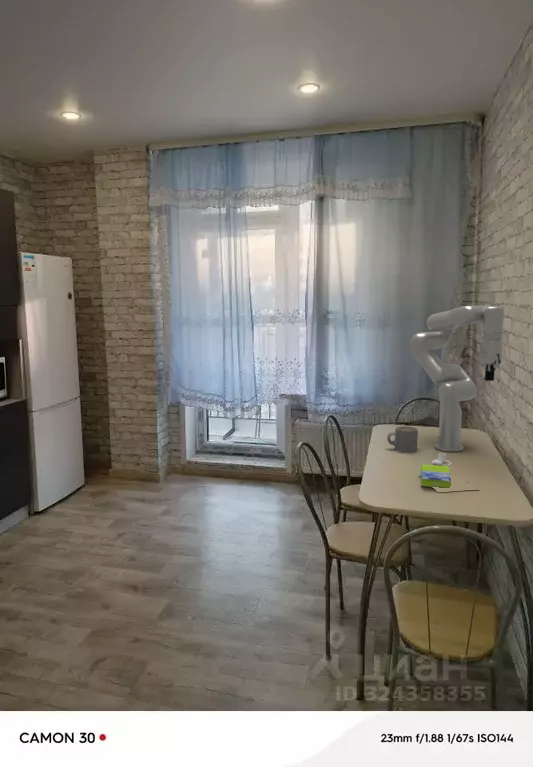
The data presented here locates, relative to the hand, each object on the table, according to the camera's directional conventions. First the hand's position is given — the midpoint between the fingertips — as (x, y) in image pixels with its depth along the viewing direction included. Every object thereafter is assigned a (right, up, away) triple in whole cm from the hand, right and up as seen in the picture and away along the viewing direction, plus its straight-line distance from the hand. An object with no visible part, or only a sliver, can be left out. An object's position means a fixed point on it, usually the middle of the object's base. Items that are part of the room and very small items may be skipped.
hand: (489, 380), depth 218 cm
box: (-27, -35, -12) cm, 46 cm away
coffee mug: (-30, -32, +24) cm, 50 cm away
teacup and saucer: (-21, -36, +5) cm, 42 cm away
